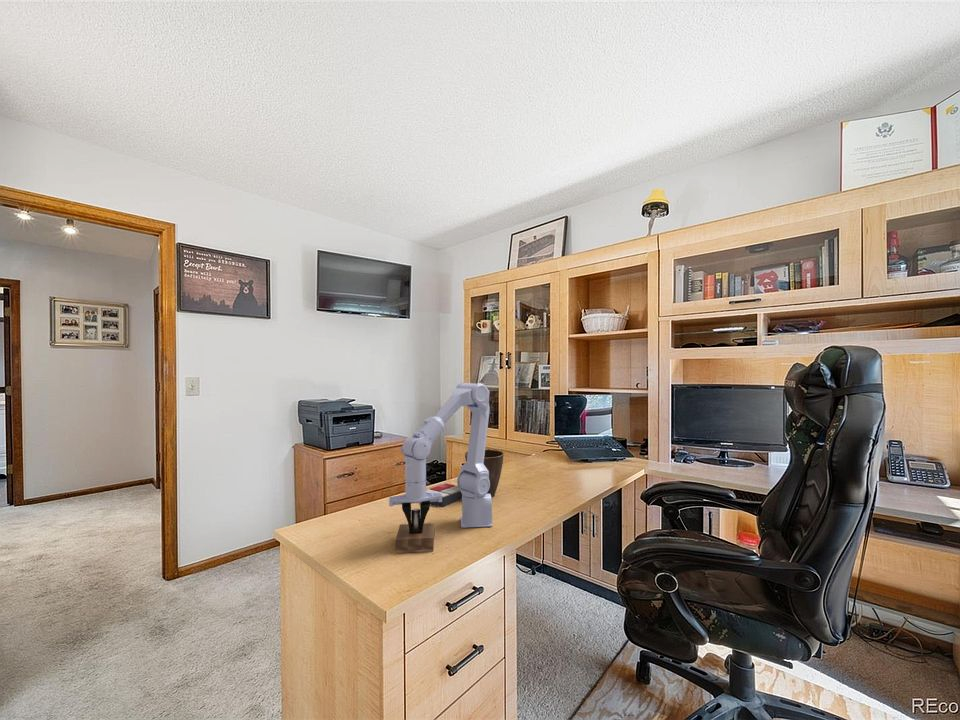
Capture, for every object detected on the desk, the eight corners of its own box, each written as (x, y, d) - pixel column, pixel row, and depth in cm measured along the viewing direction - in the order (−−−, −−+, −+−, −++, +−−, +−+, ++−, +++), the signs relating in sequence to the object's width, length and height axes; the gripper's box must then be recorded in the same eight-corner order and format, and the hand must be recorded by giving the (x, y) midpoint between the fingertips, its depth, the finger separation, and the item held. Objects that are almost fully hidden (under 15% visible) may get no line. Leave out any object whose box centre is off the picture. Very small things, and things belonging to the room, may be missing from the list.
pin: (420, 533, 111) (419, 508, 111) (420, 536, 109) (420, 511, 109) (411, 534, 111) (411, 509, 111) (411, 537, 108) (411, 511, 109)
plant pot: (457, 495, 150) (456, 453, 151) (484, 486, 161) (484, 447, 161) (484, 504, 140) (484, 459, 140) (512, 495, 150) (511, 453, 150)
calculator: (468, 486, 150) (442, 495, 138) (468, 498, 150) (442, 508, 137) (446, 482, 156) (419, 490, 144) (445, 493, 156) (419, 502, 144)
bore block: (434, 535, 115) (434, 523, 115) (433, 551, 105) (433, 538, 105) (399, 536, 114) (399, 524, 114) (395, 552, 104) (395, 539, 104)
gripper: (440, 474, 115) (440, 521, 115) (389, 478, 112) (389, 525, 112) (442, 481, 108) (443, 531, 108) (389, 485, 105) (389, 536, 105)
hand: (415, 529), depth 110 cm, fingers closed on pin, 2 cm apart
